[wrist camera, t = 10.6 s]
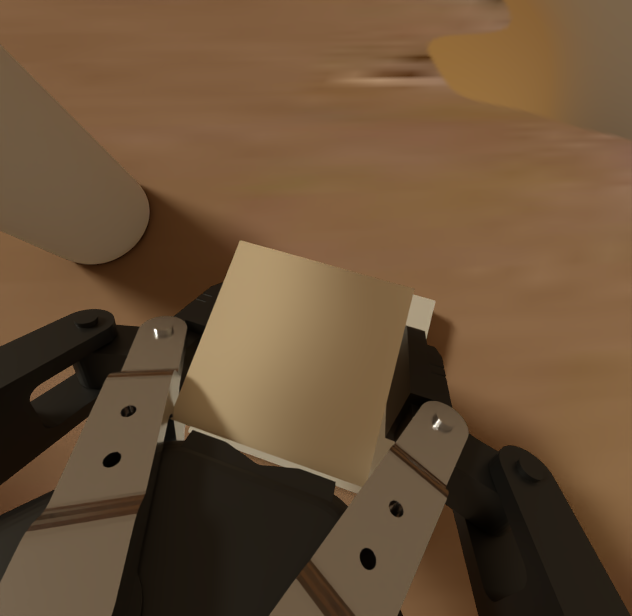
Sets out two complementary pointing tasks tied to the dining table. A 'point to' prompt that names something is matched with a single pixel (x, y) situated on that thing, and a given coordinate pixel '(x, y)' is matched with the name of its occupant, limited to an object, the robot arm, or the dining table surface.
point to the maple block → (297, 361)
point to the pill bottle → (61, 178)
